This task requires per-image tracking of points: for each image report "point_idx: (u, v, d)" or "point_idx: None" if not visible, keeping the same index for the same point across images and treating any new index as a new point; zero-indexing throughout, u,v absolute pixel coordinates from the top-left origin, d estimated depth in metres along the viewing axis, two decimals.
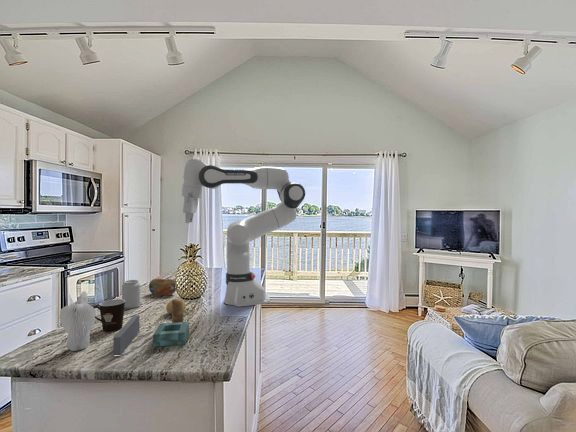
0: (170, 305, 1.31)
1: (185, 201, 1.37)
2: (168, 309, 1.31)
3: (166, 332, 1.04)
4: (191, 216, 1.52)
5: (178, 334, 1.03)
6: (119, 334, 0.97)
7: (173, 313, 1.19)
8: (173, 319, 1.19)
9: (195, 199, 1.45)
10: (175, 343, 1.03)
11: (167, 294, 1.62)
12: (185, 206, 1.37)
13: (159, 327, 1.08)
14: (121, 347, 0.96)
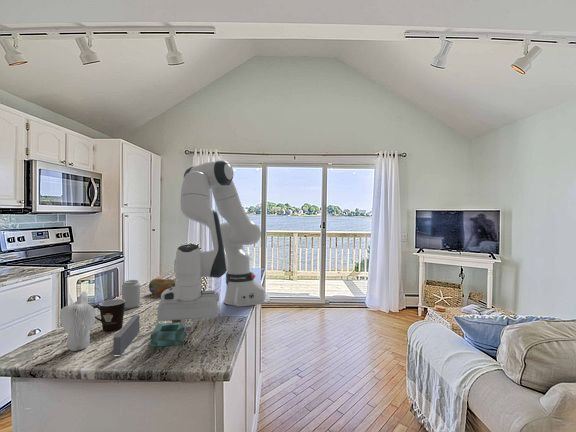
0: None
1: (216, 302, 1.09)
2: None
3: (163, 332, 1.04)
4: (184, 323, 1.09)
5: (175, 334, 1.03)
6: (119, 334, 0.97)
7: None
8: None
9: None
10: (172, 343, 1.03)
11: None
12: (217, 308, 1.09)
13: (156, 327, 1.08)
14: (121, 347, 0.96)
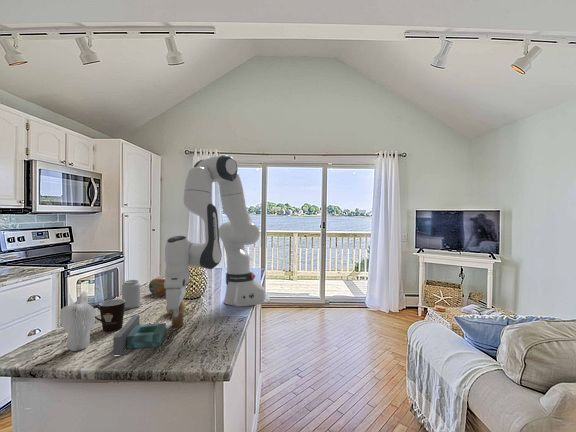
0: None
1: None
2: None
3: (140, 334, 1.02)
4: None
5: (152, 336, 1.02)
6: (119, 334, 0.97)
7: None
8: (173, 319, 1.19)
9: None
10: (149, 345, 1.02)
11: None
12: None
13: (134, 329, 1.07)
14: (121, 347, 0.96)
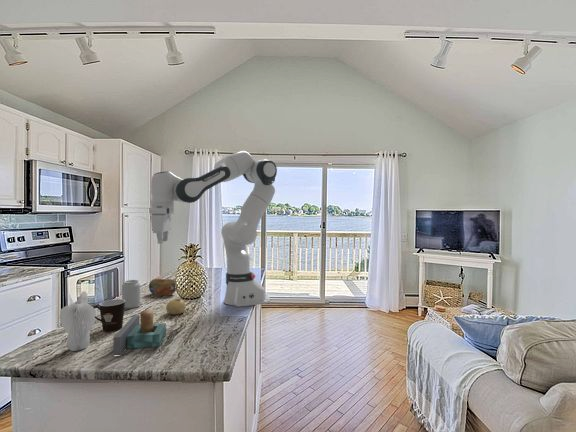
0: (170, 305, 1.31)
1: None
2: (168, 309, 1.31)
3: (140, 334, 1.02)
4: None
5: (152, 336, 1.02)
6: (119, 334, 0.97)
7: (142, 327, 1.04)
8: None
9: None
10: (149, 345, 1.02)
11: (167, 295, 1.62)
12: None
13: (134, 329, 1.07)
14: (121, 347, 0.96)
